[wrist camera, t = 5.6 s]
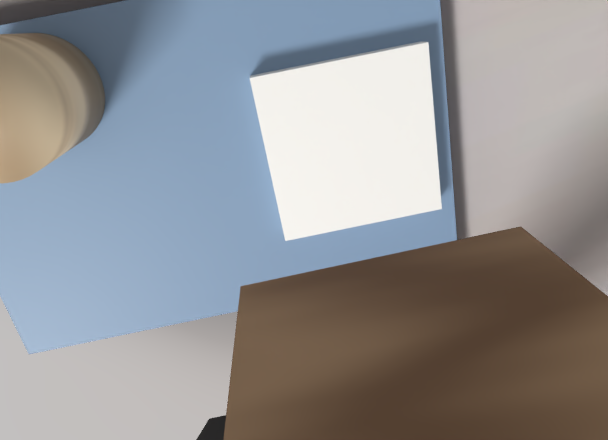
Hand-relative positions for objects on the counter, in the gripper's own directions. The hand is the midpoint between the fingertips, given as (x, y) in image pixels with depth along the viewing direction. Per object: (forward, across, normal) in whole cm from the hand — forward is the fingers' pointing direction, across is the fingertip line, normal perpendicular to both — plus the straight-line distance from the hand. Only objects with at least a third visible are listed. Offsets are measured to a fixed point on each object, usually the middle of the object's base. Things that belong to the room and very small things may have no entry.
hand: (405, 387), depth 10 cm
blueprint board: (+17, +6, -1) cm, 18 cm away
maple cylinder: (+15, +12, -6) cm, 20 cm away
